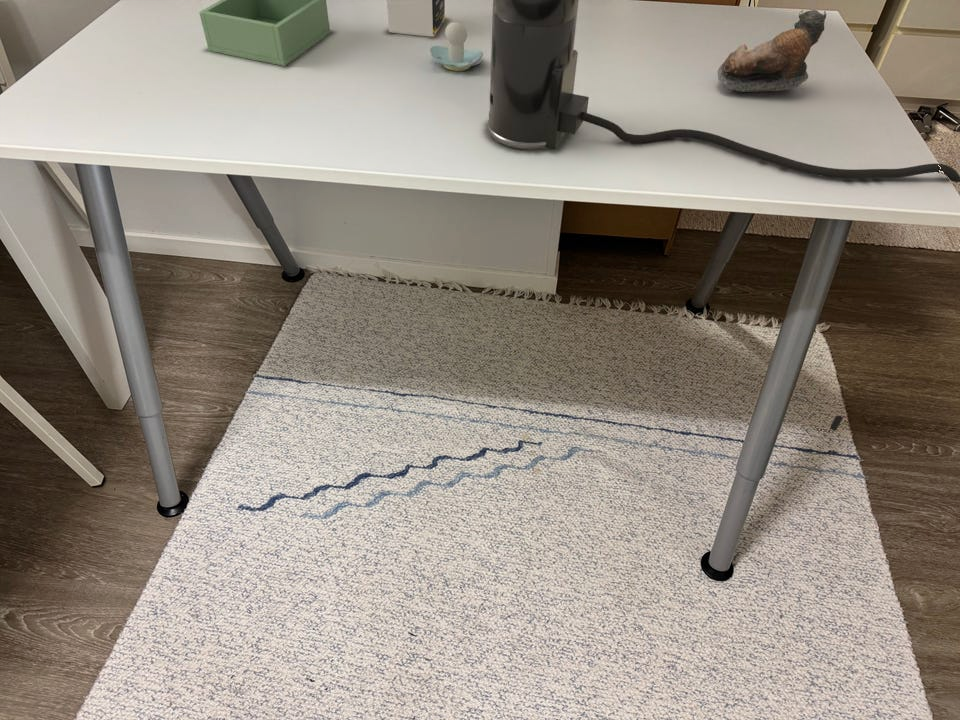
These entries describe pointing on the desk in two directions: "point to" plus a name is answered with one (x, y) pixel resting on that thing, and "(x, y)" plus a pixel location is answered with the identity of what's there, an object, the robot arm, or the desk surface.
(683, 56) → the desk surface
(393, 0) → the white box
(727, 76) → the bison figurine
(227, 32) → the green open-top box
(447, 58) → the pacifier
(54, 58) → the desk surface
